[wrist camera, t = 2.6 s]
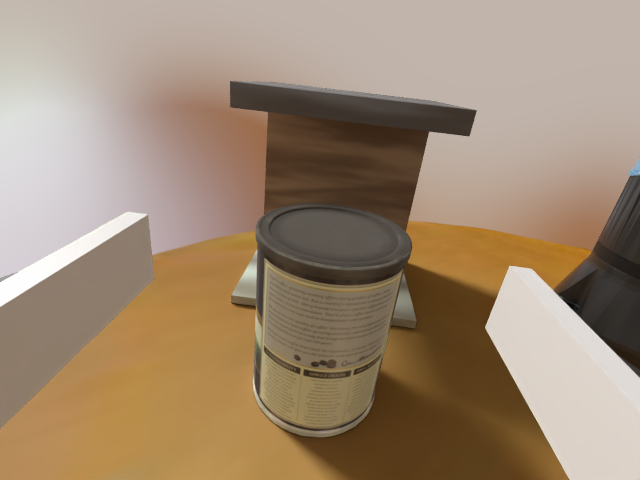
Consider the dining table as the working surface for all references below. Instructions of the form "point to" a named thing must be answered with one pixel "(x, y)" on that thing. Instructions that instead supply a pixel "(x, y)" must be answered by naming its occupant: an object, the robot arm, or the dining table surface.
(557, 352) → the robot arm
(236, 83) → the brown piece
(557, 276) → the dining table surface
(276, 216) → the coffee can
